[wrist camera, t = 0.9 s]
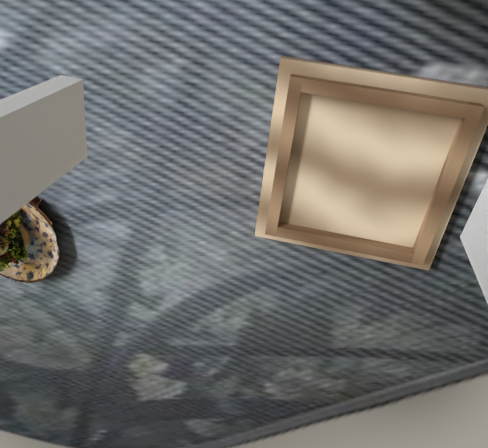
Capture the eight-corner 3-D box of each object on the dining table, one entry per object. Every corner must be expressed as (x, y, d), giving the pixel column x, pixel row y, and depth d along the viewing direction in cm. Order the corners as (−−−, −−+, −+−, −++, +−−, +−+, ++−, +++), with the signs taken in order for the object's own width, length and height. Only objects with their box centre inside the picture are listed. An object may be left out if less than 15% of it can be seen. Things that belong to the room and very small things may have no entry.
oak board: (282, 55, 34) (278, 60, 33) (497, 88, 33) (505, 95, 31) (256, 230, 43) (252, 241, 41) (426, 264, 41) (430, 277, 39)
